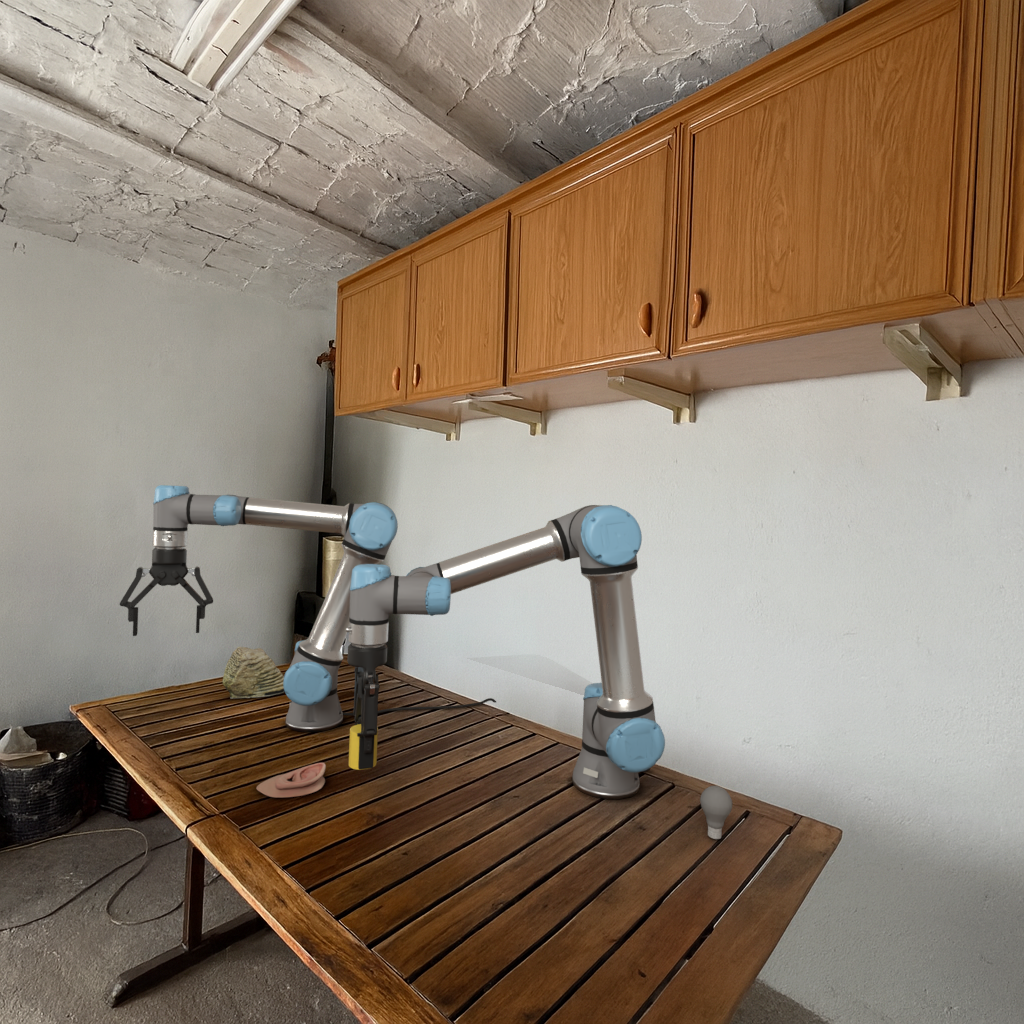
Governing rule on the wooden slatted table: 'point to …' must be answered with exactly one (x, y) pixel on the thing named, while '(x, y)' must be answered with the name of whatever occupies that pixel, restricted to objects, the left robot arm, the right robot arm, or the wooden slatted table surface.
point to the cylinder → (355, 747)
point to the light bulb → (715, 809)
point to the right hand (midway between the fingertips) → (363, 761)
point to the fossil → (252, 674)
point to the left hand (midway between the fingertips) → (166, 633)
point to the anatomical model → (295, 782)
